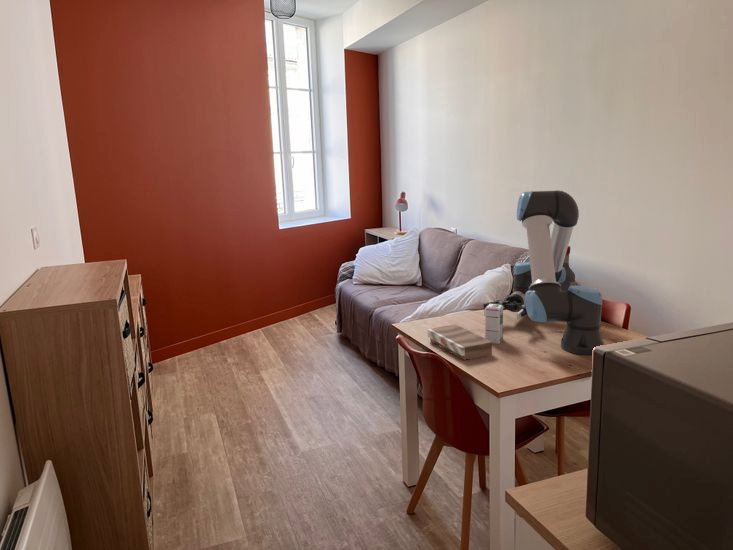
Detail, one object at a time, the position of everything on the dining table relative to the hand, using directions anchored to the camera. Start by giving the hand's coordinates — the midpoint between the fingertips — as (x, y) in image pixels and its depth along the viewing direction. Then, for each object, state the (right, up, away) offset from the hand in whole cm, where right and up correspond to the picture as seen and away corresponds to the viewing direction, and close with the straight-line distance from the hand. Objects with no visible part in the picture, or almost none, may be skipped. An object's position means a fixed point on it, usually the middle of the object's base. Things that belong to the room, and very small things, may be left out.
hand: (501, 314), depth 217 cm
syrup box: (-5, -10, -6) cm, 13 cm away
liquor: (+37, 0, +33) cm, 50 cm away
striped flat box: (-19, -12, -13) cm, 26 cm away
